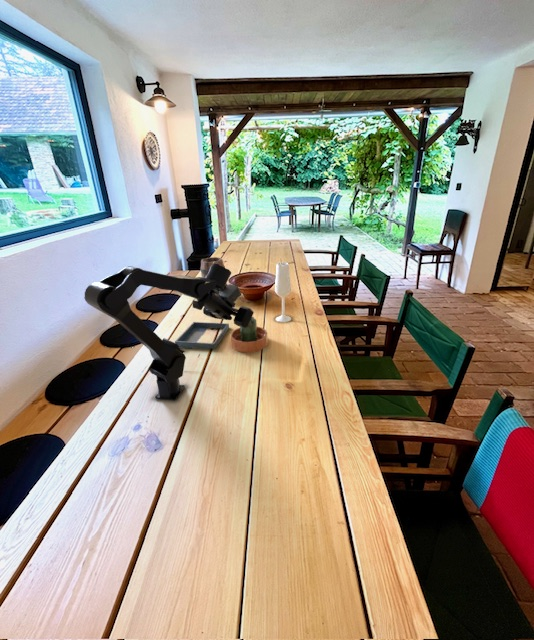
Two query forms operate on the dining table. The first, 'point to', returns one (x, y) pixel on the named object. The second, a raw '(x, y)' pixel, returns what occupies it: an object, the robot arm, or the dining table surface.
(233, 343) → the bowl
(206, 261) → the tankard
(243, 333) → the bottle
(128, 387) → the dining table surface
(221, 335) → the tray
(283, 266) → the champagne flute
